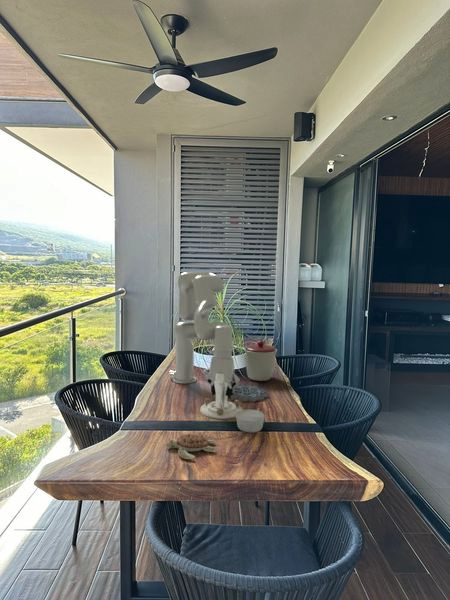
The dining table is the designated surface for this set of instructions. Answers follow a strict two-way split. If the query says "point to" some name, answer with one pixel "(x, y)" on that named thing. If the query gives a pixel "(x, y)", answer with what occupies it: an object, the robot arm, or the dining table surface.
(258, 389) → the decorative tile
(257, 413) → the ramekin
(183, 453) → the decorative turtle
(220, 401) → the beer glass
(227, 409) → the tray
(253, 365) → the canister
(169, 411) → the dining table surface
